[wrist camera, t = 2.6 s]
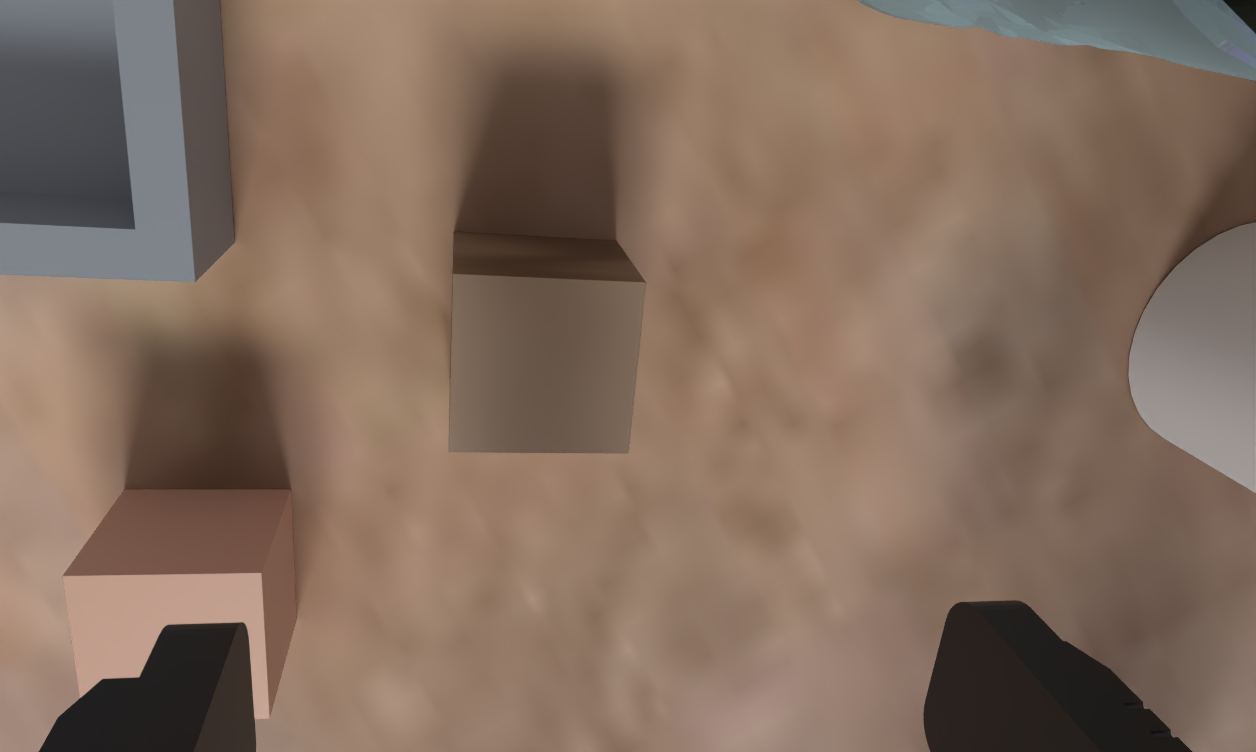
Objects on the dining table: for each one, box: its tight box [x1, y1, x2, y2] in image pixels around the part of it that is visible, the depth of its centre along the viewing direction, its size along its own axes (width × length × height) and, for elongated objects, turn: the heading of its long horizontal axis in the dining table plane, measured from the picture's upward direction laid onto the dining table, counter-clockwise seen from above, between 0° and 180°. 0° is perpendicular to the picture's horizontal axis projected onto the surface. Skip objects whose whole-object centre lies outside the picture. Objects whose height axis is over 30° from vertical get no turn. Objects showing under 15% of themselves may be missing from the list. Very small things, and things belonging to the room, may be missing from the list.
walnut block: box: [449, 232, 646, 453], centre depth 21 cm, size 4×4×4 cm
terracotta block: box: [63, 489, 297, 719], centre depth 22 cm, size 4×4×4 cm
